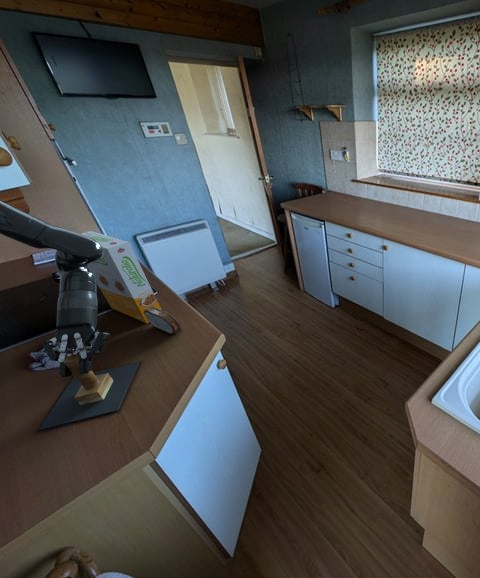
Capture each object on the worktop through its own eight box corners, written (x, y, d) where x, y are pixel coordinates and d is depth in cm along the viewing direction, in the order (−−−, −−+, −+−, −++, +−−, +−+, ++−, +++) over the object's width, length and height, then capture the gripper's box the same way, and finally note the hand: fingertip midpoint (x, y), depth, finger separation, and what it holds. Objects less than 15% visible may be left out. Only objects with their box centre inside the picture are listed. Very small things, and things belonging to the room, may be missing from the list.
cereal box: (163, 314, 113) (128, 241, 97) (146, 323, 108) (107, 248, 92) (128, 300, 120) (91, 230, 105) (111, 308, 116) (69, 236, 100)
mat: (39, 430, 72) (38, 429, 72) (74, 377, 86) (74, 376, 86) (118, 411, 77) (117, 410, 77) (139, 363, 91) (138, 362, 91)
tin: (184, 332, 104) (175, 313, 99) (175, 338, 101) (166, 319, 97) (157, 321, 109) (148, 302, 104) (148, 326, 106) (138, 307, 102)
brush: (80, 405, 78) (51, 370, 71) (92, 385, 83) (66, 351, 76) (103, 399, 79) (77, 365, 72) (113, 380, 85) (90, 346, 78)
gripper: (31, 311, 73) (27, 381, 69) (99, 303, 76) (97, 370, 73) (57, 315, 80) (54, 380, 77) (118, 308, 83) (117, 369, 80)
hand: (75, 374), depth 75 cm, fingers closed on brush, 3 cm apart
